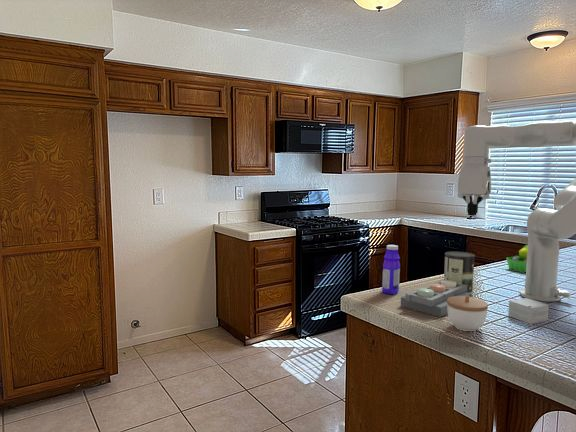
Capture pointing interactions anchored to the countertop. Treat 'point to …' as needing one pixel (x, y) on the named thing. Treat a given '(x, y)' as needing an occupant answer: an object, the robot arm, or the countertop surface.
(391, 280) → the bottle
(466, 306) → the lidded jar
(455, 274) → the coffee can
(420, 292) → the sage button
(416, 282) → the countertop surface
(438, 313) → the grey compartment tray
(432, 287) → the peach rounded dome
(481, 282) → the countertop surface
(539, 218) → the robot arm
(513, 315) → the small box
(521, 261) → the fruit basket
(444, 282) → the cream button
